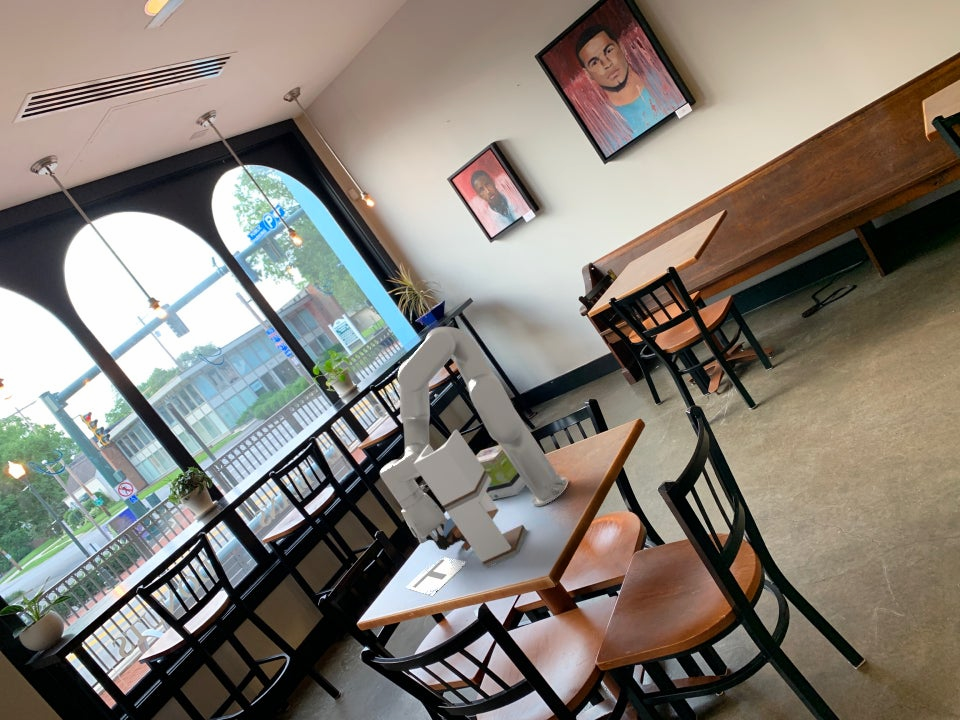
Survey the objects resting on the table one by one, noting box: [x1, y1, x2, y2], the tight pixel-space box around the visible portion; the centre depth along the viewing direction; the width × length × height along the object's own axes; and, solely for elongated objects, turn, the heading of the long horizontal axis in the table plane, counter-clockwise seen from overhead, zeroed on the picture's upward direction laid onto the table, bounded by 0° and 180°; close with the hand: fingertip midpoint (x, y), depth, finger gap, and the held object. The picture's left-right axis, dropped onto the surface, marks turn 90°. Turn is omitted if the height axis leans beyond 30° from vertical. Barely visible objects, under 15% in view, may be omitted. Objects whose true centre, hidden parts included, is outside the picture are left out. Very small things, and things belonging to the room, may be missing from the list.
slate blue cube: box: [432, 515, 456, 537], centre depth 235 cm, size 6×6×6 cm
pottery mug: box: [445, 525, 472, 552], centre depth 219 cm, size 12×10×8 cm
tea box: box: [475, 444, 527, 501], centre depth 240 cm, size 15×10×15 cm, turn 49°
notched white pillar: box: [413, 429, 527, 568], centre depth 198 cm, size 11×11×35 cm
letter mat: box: [405, 556, 466, 597], centre depth 214 cm, size 20×14×1 cm
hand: (445, 548), depth 217 cm, fingers closed
